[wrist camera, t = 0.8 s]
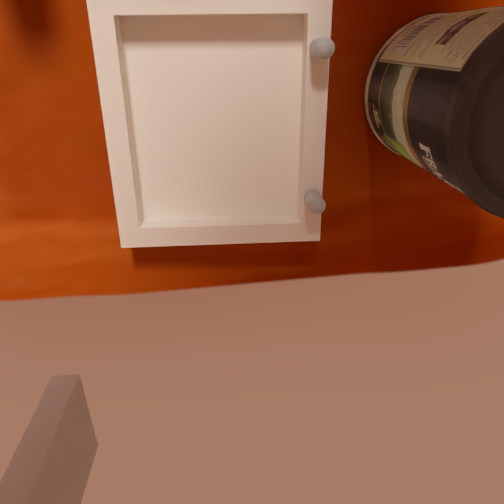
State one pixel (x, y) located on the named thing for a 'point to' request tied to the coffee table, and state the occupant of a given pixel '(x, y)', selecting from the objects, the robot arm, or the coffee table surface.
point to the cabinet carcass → (214, 117)
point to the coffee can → (445, 100)
